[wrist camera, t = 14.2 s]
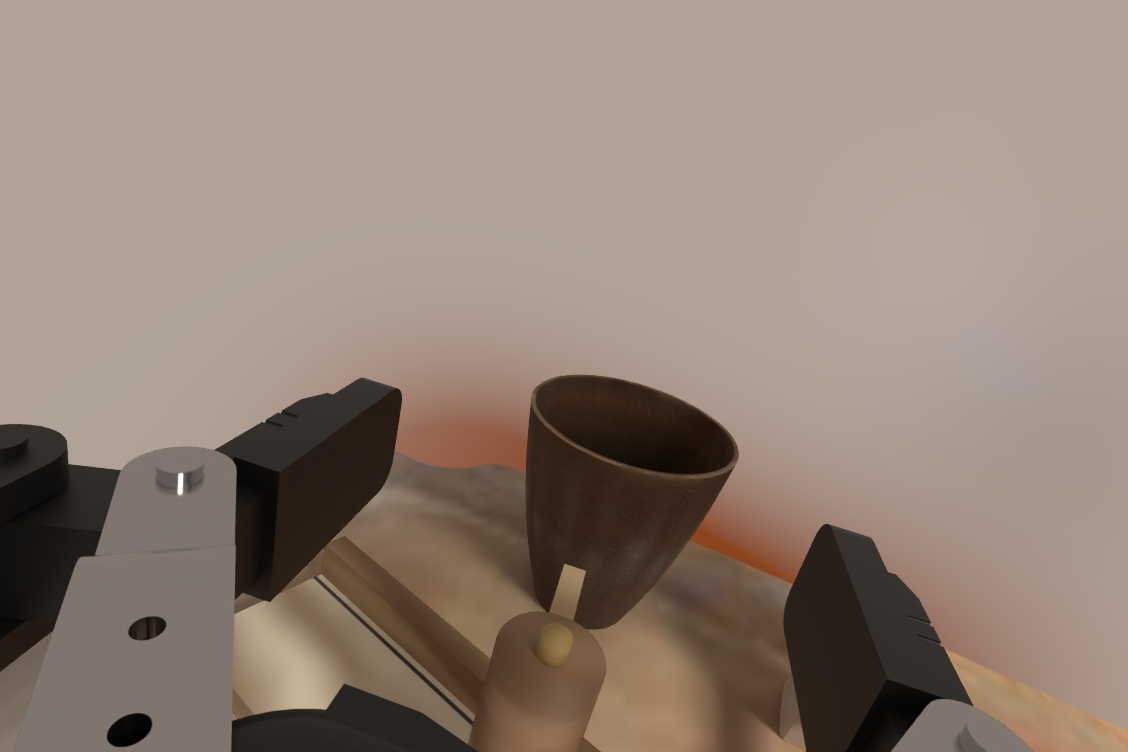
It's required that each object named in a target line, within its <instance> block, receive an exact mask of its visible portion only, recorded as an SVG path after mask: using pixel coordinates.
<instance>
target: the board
mask: <svg viewBox="0 0 1128 752" xmlns="http://www.w3.org/2000/svg"><path fill="white" fill-rule="evenodd" d="M490 660H491V659H490V658H489V657H487V656H486V655H485V654H484V653H483V652H482V651H480V650H479V649H478V648H477V647H476V646H474V645H473V644H472V643H471V642H470V641H468V640H467V639H466V638H465V637H464V636H463V635H461V634H460V633H459V632H458V631H457V630H455V629H454V628H453V627H452V626H451V625H449V624H448V623H447V622H446V621H445V620H444V619H442V618H441V617H440V616H439V615H438V614H436V613H435V612H434V611H433V610H432V609H430V608H429V607H428V606H427V605H426V604H424V603H423V602H422V601H421V600H420V599H419V598H417V597H416V596H415V595H414V594H413V593H411V592H410V591H409V590H408V589H407V588H405V587H404V586H403V585H402V584H401V583H400V582H398V581H397V580H396V579H395V578H394V577H392V576H391V575H390V574H389V573H388V572H386V571H385V570H384V569H383V568H382V567H381V566H379V565H378V564H377V563H376V562H375V561H373V560H372V559H371V558H370V557H369V556H367V555H366V554H365V553H364V552H363V551H362V550H360V549H359V548H358V547H357V546H356V545H354V544H353V543H352V542H351V541H350V540H348V539H347V538H346V537H345V536H344V537H341V538H339V539H337V540H334V541H332V542H329V543H328V544H327V545H326V546H325V550H324V557H323V565H322V572H321V574H320V575H318V576H315V577H313V578H312V579H310V580H307V581H305V582H303V583H301V584H299V585H297V586H294V587H292V588H290V589H288V590H286V591H284V592H281V593H279V594H278V595H277V596H276V597H275V598H274V599H273V600H272V601H271V602H267V601H265V600H264V601H262V602H260V603H258V604H255V605H253V606H251V607H249V608H247V609H245V610H242V611H240V612H238V613H236V614H234V646H233V690H232V711H233V713H234V714H235V715H236V716H237V718H238V719H240V718H243V717H247V716H251V715H255V714H260V713H265V712H270V711H277V710H286V709H325V710H326V709H327V708H328V706H329V705H330V703H331V702H332V700H333V699H334V697H335V696H336V694H337V693H338V692H339V690H340V689H341V687H342V686H343V684H344V683H345V684H347V685H350V686H353V687H355V688H358V689H361V690H363V691H366V692H369V693H371V694H374V695H377V696H379V697H382V698H385V699H387V700H390V701H393V702H395V703H398V704H401V705H403V706H406V707H409V708H411V709H414V710H417V711H419V712H422V713H423V714H425V715H426V716H428V717H429V718H431V719H432V720H434V721H435V722H436V723H438V724H439V725H441V726H442V727H444V728H445V729H446V730H448V731H449V732H451V733H452V734H454V735H455V736H457V737H458V738H459V739H461V740H462V741H464V742H465V743H467V744H468V740H469V736H470V733H471V729H472V726H473V722H474V718H475V715H476V711H477V707H478V704H479V700H480V697H481V693H482V689H483V686H484V682H485V678H486V675H487V671H488V667H489V664H490ZM578 752H600V751H599V750H598V749H597V748H596V747H594V746H593V745H592V744H591V743H590V742H589V741H587V740H586V739H585V738H584V737H583V738H582V741H581V744H580V747H579V749H578Z"/></svg>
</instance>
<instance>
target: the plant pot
mask: <svg viewBox="0 0 1128 752" xmlns="http://www.w3.org/2000/svg"><path fill="white" fill-rule="evenodd" d="M738 457H739V452H738V447H737V445H736V443H735V441H734V439H733V437H732V436H731V435H730V433H729V432H728V431H727V430H726V429H725V428H724V427H723V426H722V425H721V424H720V423H718V422H717V421H716V420H715V419H713V418H712V417H710V416H709V415H707V414H706V413H704V412H703V411H701V410H700V409H698V408H696V407H694V406H692V405H691V404H688V403H687V402H685V401H683V400H681V399H678V398H676V397H674V396H672V395H669V394H667V393H664V392H662V391H659V390H656V389H654V388H651V387H648V386H644V385H641V384H638V383H634V382H630V381H625V380H621V379H616V378H611V377H603V376H595V375H566V376H559V377H555V378H551V379H549V380H546V381H544V382H543V383H541V384H540V385H538V386H537V387H536V388H535V390H534V391H533V393H532V398H531V407H530V418H529V429H528V443H527V458H526V459H527V460H526V517H527V533H528V543H529V553H530V561H531V568H532V575H533V580H534V586H535V591H536V595H537V597H538V599H539V601H540V603H541V604H542V606H543V607H544V608H545V609H546V610H547V611H548V612H550V609H551V605H552V602H553V599H554V596H555V593H556V589H557V586H558V583H559V580H560V577H561V573H562V570H563V567H564V564H567V565H570V566H573V567H576V568H579V569H582V570H584V571H586V573H585V577H584V580H583V584H582V588H581V592H580V596H579V600H578V604H577V608H576V612H575V616H574V620H573V621H575V622H576V623H578V624H579V625H581V626H582V627H584V628H585V629H602V628H606V627H609V626H611V625H613V624H615V623H616V622H618V621H619V620H620V619H621V618H622V617H623V616H624V615H625V614H626V613H627V612H628V611H629V610H631V609H632V608H633V607H634V606H635V605H636V604H637V603H638V602H639V600H640V599H641V598H642V597H643V596H644V595H645V594H646V593H647V592H648V591H649V590H650V589H651V588H652V587H653V585H654V584H655V583H656V582H657V581H658V580H659V578H660V577H661V576H662V575H663V574H664V572H665V571H666V570H667V569H668V567H669V566H670V565H671V564H672V562H673V561H674V560H675V558H676V557H677V556H678V554H679V553H680V552H681V550H682V549H683V548H684V546H685V545H686V544H687V542H688V541H689V539H690V538H691V537H692V535H693V534H694V532H695V531H696V530H697V528H698V527H699V525H700V524H701V522H702V521H703V519H704V517H705V516H706V514H707V513H708V511H709V510H710V508H711V507H712V505H713V503H714V501H715V500H716V498H717V496H718V495H719V493H720V491H721V489H722V488H723V486H724V484H725V482H726V481H727V479H728V477H729V476H730V474H731V472H732V470H733V468H734V467H735V465H736V463H737V461H738Z"/></svg>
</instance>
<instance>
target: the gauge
mask: <svg viewBox="0 0 1128 752" xmlns="http://www.w3.org/2000/svg"><path fill="white" fill-rule="evenodd" d="M585 573H586V571H584V570H582V569H579V568H576V567H573V566H570V565H567V564H564V567H563V570H562V573H561V577H560V580H559V583H558V586H557V589H556V593H555V596H554V599H553V602H552V605H551V609H550V612H529V613H524V614H521V615H518V616H516V617H514V618H512V619H511V620H509V621H508V622H507V623H506V624H505V625H504V626H503V627H502V628H501V630H500V631H499V633H498V635H497V639H496V642H495V646H494V649H493V653H492V657H491V660H490V664H489V667H488V671H487V675H486V678H485V682H484V686H483V689H482V693H481V697H480V700H479V704H478V707H477V711H476V715H475V718H474V722H473V726H472V729H471V733H470V736H469V740H468V745H469V746H471V747H472V748H474V749H475V750H477V751H478V752H578V749H579V747H580V744H581V741H582V738H583V736H584V733H585V730H586V727H587V725H588V722H589V719H590V716H591V714H592V711H593V708H594V705H595V703H596V700H597V697H598V695H599V692H600V689H601V686H602V684H603V681H604V678H605V674H606V661H605V657H604V654H603V651H602V649H601V647H600V645H599V644H598V642H597V641H596V639H595V638H594V637H593V636H592V635H591V634H590V633H589V632H588V631H587V630H586V629H585V628H584V627H582V626H581V625H579V624H578V623H576V622H575V621H573V620H574V616H575V612H576V608H577V604H578V600H579V596H580V592H581V588H582V584H583V580H584V577H585Z"/></svg>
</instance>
